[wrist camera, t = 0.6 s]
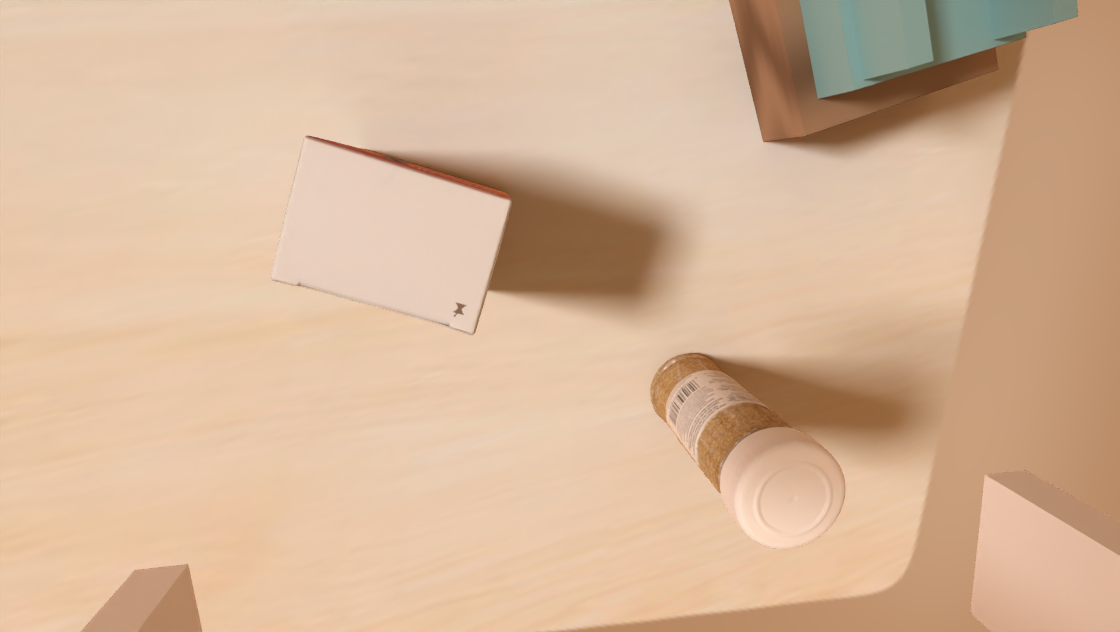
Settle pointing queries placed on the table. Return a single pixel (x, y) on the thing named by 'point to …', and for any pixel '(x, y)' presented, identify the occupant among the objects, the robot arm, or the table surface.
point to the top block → (911, 34)
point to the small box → (390, 234)
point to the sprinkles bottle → (750, 454)
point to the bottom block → (788, 82)
